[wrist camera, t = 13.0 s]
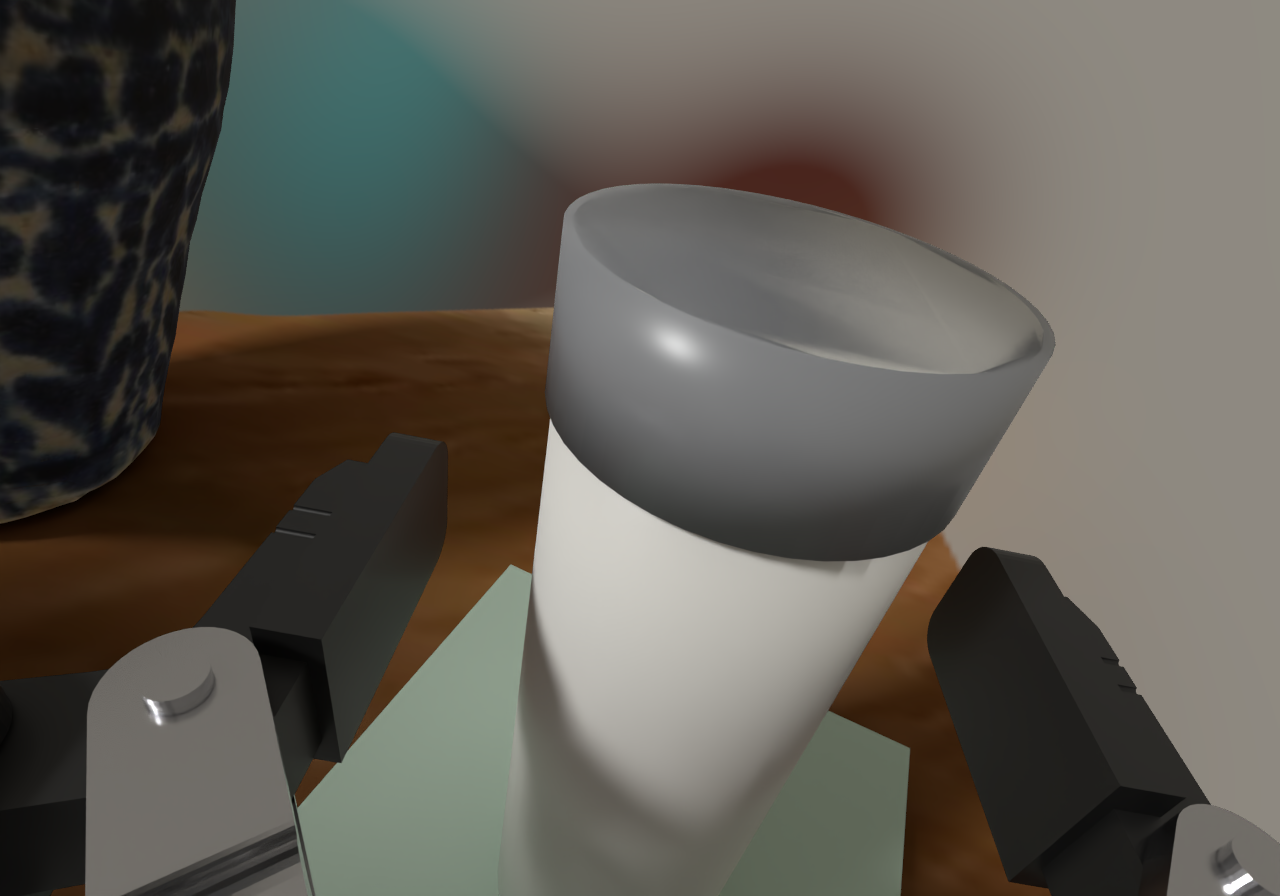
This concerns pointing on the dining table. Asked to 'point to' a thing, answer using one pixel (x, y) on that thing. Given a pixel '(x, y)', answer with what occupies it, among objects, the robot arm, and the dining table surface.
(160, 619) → the dining table surface
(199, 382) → the dining table surface
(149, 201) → the jug
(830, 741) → the mat
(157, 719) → the robot arm
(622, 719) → the cartridge
